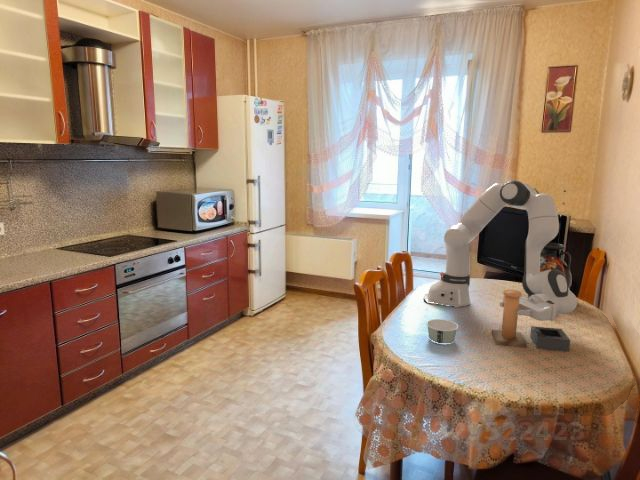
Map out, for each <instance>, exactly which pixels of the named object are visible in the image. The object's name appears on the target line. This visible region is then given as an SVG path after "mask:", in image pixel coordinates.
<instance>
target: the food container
mask: <svg viewBox="0 0 640 480" xmlns="http://www.w3.org/2000/svg"><path fill="white" fill-rule="evenodd" d="M426 326H427V330H428V332H427V333H428V339H429V338H430V339H431V340H433V341H435V342H438V343H452V342H453V341H454V342H455V339H456V334H457V330H459V325H458V324H457V323H456V321H455V322H454V321H451V320H448V319H445V318H444V319H443V318H434V319H430V320H428V321H426ZM454 342H453V343H454Z"/></svg>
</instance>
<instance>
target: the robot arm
mask: <svg viewBox="0 0 640 480" xmlns="http://www.w3.org/2000/svg"><path fill="white" fill-rule="evenodd" d="M506 206H510V207H512V208H514V209H518V210H521V211H526V212H527V216H528V218H527V219H528V233H527V237H526V239H525V242H524V270H523V272H524V274H523V276H522V283H521V284H522V289H523V290H524V292H525V293H526V294H527V295H530V297H529V298H527V297H524V296H522V295H521V297H520V298H519V308H518V310H517V314H518V316H526V317H530V318H532V319H534V320H536V321H539V322H543V321H544V322H546V321H550V322H553V321H555V320H556V317H557V316H559V315H565V314H569V313H571V312H572V311H574V310H575V309H576V308H577V305H578V299H577V296H576V295H575V294H574V293H573V292H572V291H571V290H570V288H569V287H568V281H567V278H566V276H565V275H564V273H562V272H561V271H560V270H557V269H552V270H547V271H543V272H540V253H541V251H542V249H543V247H544V246H545V245H546V244H547V243H551V241H552V240H554V239H555V238H556V237H557V236H558V234H559V230H560V222H559V221H560V220H559V214H558V210H557V206H556V203H555V200H554V198H553V196H552V195H551V194H548V193H540V192H539V191H538V190H537V189H536V188H534V187H533V186H531V185H530V184H527V183H523V182H521V181H519V180H510V181H506V182H505V183H504V184H502V183H494V184H493V185H491V186H490V187H488V188H487V189H486V190H485V191H483V193H481V195H479V196H478V198H477V199H476V200H475V201H474V202H473V203H472V204H471V205H470V206H469V208H468V209H467V210H466V211H465V212H464V214H463V215H462V216H461V218H460V219H459V220H457V222H456V223H455V224H454V225H452V226H450V227H448V229H447V230H446V231H445V233H444V236H443V240H444V245H445V253H446V254H445V255H446V256H445V257H446V260H445V261H446V262H445V266H446V267H445V272H444V271H441V272H440V274H439V276H440V279H439V280H438V281H437V282H435V283H433V284H432V285H431V286H430V287H429V290H428V293H426V294H424V295H423V300H424V299H428V302H434V303H438V304H443V305H449V306H448V307H450V306H454V307H453V308H457V307H458V308H461V307H464V306H465V307H466V306H469V305H470V304H471V298H470V290H469V289H470V288H469V287H470V284H471V274H470V270H471V269H470V268H471V265H470V264H471V257H470V243H472V242H473V240H474V239H475V238H476V237H477V236H478V235H479V234H480V233H481V232H482V231H483V229H484V228H485V227H486V226H487V225H488V224H489V223H490V222H491V221H492V220H493V219H494V217H496V216H497V214H499V213H500V212H501V210H503V208H505V207H506ZM502 298H503V299H502V301H500V303H499V306H500V307H502V308H504V299H505V295H504V296H503V297H502ZM443 305H442V306H443ZM460 306H461V307H460Z"/></svg>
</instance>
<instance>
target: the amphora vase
mask: <svg viewBox="0 0 640 480" xmlns="http://www.w3.org/2000/svg"><path fill="white" fill-rule="evenodd" d="M566 247H567V246H565V245H564V244H561V243H556V242H549V243H547V244H546V245H545V246H544V247H543V249H542V251H541V253H540V272H543V271H547V270H552V269H557V270H560V271H561V272H562V273H564V275H565V276H566V278H567V281H568V287H569V289H570V288H571V286H572V282H573V281H572V280H573V278H572V273H571V261H572V256H571V254H570V253H569V252H568V251H562V250H565V249H566ZM561 251H562V252H561ZM563 255H566V258H567V262H566V261H564V259H563Z"/></svg>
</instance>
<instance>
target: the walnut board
mask: <svg viewBox="0 0 640 480" xmlns="http://www.w3.org/2000/svg"><path fill="white" fill-rule="evenodd" d="M501 332H502V329H501V330H500V329H499V330H498V329H491V336H492V339H493V342H494V344H495V345H501V346H511V347H521V348H527V345H528V344H527V341H526V339H525V338H524V337H525V336H524V335H523V334H522V332H520V331H516V338H515V339H507V338H504V337H502V336H501Z"/></svg>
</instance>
